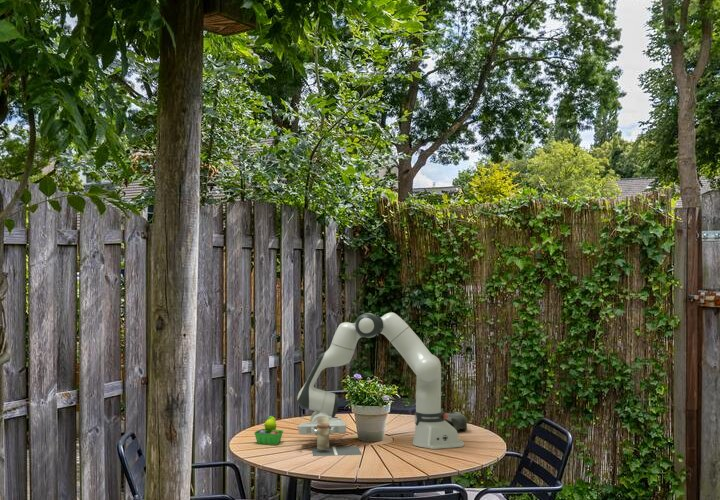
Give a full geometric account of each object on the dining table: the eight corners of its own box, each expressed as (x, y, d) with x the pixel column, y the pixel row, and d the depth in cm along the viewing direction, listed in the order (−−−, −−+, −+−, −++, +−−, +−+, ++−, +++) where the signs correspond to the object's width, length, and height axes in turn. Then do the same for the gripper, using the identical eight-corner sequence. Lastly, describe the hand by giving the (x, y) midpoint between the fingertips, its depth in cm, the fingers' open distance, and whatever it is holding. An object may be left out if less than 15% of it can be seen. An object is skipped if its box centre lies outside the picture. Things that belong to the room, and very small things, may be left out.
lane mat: (358, 448, 277) (358, 446, 277) (362, 457, 263) (362, 454, 263) (311, 450, 274) (311, 447, 274) (312, 458, 260) (313, 455, 260)
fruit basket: (253, 444, 284) (253, 418, 285) (261, 439, 292) (261, 414, 293) (277, 446, 281) (277, 419, 282) (284, 441, 290) (285, 415, 290)
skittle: (328, 446, 271) (329, 417, 271) (329, 449, 266) (329, 419, 266) (316, 446, 270) (316, 417, 271) (317, 449, 265) (317, 419, 266)
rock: (435, 425, 324) (435, 410, 325) (456, 425, 326) (456, 409, 327) (446, 434, 306) (446, 417, 307) (469, 433, 308) (469, 416, 309)
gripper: (297, 418, 280) (298, 424, 266) (344, 417, 283) (347, 423, 269) (297, 433, 280) (298, 440, 266) (344, 432, 282) (347, 439, 268)
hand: (323, 432), depth 267 cm, fingers closed on skittle, 5 cm apart
